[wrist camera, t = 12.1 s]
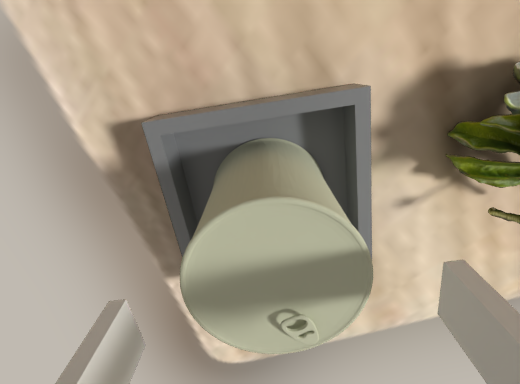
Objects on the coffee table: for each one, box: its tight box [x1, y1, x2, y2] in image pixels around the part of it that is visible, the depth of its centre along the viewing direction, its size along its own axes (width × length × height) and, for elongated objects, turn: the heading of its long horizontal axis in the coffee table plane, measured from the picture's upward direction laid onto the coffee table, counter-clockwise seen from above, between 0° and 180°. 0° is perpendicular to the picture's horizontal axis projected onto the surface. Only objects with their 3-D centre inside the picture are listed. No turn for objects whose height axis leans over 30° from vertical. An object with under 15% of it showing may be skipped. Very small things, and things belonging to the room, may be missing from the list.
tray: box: [141, 84, 372, 259], centre depth 23 cm, size 15×15×4 cm
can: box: [180, 138, 373, 354], centre depth 19 cm, size 9×9×12 cm
